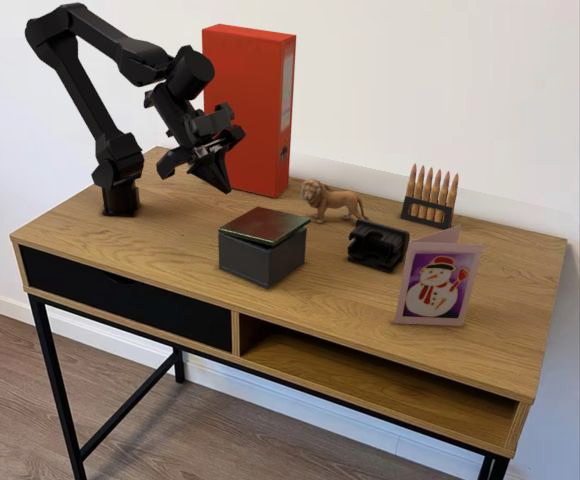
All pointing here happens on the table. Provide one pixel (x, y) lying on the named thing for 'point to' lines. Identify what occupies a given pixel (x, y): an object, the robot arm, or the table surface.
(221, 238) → the bin
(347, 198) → the lion figurine
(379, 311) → the table surface
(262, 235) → the lid
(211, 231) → the table surface
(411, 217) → the ammunition clip
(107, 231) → the table surface
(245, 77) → the file binder
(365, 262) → the end cap
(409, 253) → the greeting card
